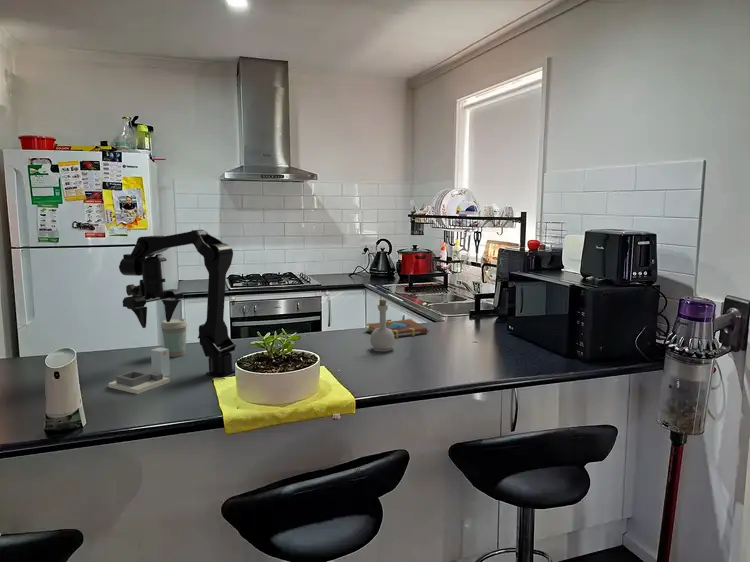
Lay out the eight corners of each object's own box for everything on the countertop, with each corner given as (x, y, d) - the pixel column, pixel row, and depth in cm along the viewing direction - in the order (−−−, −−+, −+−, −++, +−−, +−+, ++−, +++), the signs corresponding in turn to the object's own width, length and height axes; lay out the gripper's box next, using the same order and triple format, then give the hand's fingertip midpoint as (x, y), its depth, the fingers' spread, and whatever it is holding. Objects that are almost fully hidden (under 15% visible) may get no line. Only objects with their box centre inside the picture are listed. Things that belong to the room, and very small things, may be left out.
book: (437, 336, 214) (437, 324, 213) (381, 343, 203) (382, 330, 202) (416, 325, 228) (417, 314, 227) (364, 331, 218) (364, 319, 217)
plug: (170, 374, 163) (168, 349, 161) (161, 377, 160) (160, 351, 159) (160, 372, 164) (159, 347, 163) (152, 375, 162) (150, 349, 160)
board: (169, 382, 156) (169, 371, 155) (137, 394, 146) (137, 382, 145) (141, 376, 161) (140, 365, 161) (108, 387, 151) (107, 376, 151)
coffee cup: (180, 359, 178) (178, 323, 177) (157, 357, 180) (155, 322, 178) (193, 352, 187) (192, 318, 185) (171, 350, 188) (169, 317, 187)
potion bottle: (366, 350, 188) (366, 300, 185) (376, 344, 196) (376, 296, 193) (390, 353, 185) (390, 302, 182) (398, 347, 193) (398, 298, 190)
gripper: (159, 271, 179) (163, 317, 181) (108, 278, 163) (113, 328, 165) (182, 272, 174) (186, 319, 176) (132, 280, 158) (137, 332, 160)
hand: (156, 324), depth 169 cm, fingers open, 9 cm apart
